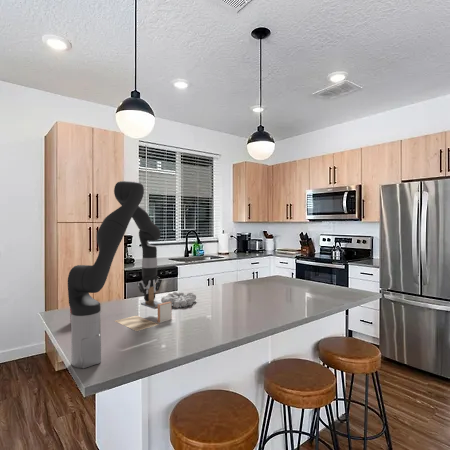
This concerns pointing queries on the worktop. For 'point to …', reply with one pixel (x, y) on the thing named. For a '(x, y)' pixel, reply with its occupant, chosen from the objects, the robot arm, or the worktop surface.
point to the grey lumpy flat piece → (179, 299)
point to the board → (136, 323)
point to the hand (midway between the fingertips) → (149, 300)
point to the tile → (164, 311)
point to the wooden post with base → (151, 299)
